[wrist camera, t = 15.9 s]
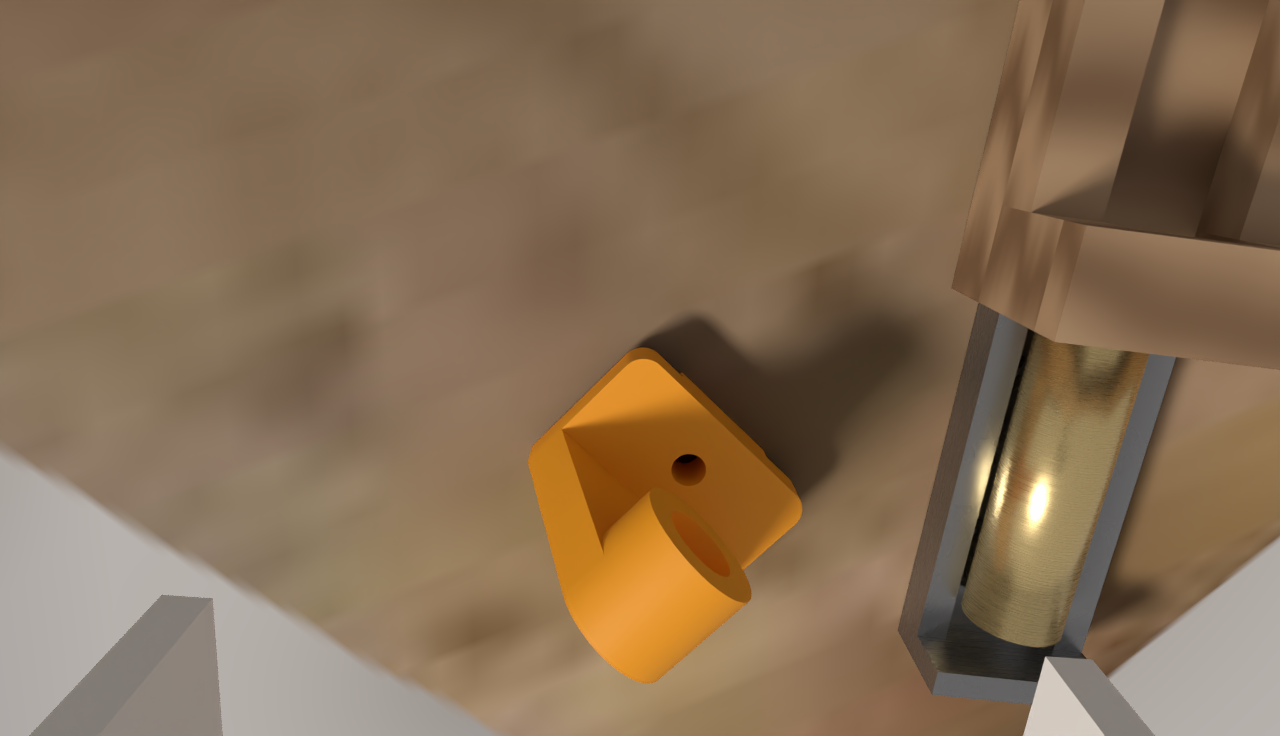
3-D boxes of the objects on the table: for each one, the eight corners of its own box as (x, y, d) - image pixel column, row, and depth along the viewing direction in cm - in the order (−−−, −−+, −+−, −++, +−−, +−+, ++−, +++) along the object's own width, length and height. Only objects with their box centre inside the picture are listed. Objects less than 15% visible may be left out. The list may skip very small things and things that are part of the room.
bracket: (799, 485, 41) (868, 629, 29) (692, 580, 42) (718, 754, 31) (641, 333, 38) (649, 426, 27) (534, 439, 40) (497, 570, 28)
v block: (978, 302, 38) (1029, 329, 33) (1152, 324, 39) (1226, 353, 34) (897, 630, 43) (931, 694, 38) (1052, 646, 44) (1105, 712, 39)
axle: (1025, 310, 38) (1057, 331, 33) (1127, 325, 37) (1173, 349, 33) (952, 585, 42) (973, 635, 37) (1043, 602, 41) (1075, 655, 37)
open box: (1031, -51, 34) (1180, -112, 25) (1290, -12, 35) (1527, -59, 26) (951, 288, 38) (1054, 341, 29) (1185, 317, 39) (1357, 379, 30)
